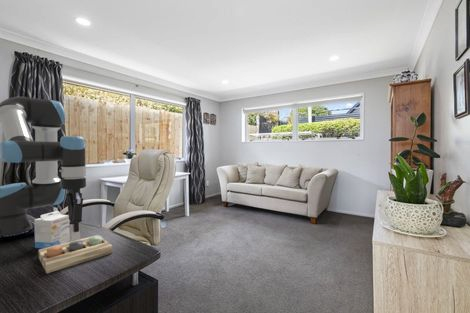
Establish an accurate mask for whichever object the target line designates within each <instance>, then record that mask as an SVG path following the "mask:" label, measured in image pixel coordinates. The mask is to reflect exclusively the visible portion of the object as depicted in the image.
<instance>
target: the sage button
mask: <svg viewBox="0 0 470 313" xmlns="http://www.w3.org/2000/svg"><path fill="white" fill-rule="evenodd" d="M92 236H93V237H91V236H90V237H91V238H89V246H90V247H91V246H94V245H98V244H101V243H102V238H103V237H102V235H99V236H95V235H92Z"/></svg>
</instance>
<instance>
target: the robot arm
mask: <svg viewBox="0 0 470 313" xmlns="http://www.w3.org/2000/svg"><path fill="white" fill-rule="evenodd" d="M65 112H66V111H65V109H64V105H62V103H61V102H60V101H59V100H58V101H57V100H51V99H43V98H35V97H28V96H14V97H10V98H6V99H4V100H2V101H0V124H1V127H2V131H3V135H4V141H1V142H0V160H1V161H2V162H3V163H15V164H18V163H33V162H35V178H34V179H32V180H31V184H28V185H27V183H26V182H18V183H17V182H16V183H9V184H5V185H1V186H0V238H1V236H3V235H12V234H18V233H22V232H26V231H29V230H30V229H32V228H33V223H32V221H31V220H30V218H29V215H28V210H30V209H32V210H33V209H37V208H44V207H51V206H55V205H60V204H61V203H62V202H63V201H64V198H65V196H66V199H67V200H66V201H67V202H66V203H67V212H68V213H67V215H69V227H70V242H72V241H76V240H80V239H81V223H82V222H83V220H82V218H83V202H84V198H83V194H82V192H81V189H84V188H86V187H87V178H86V176H87V167H86V141H85V138H84V137H83V136H77V135H76V136H74V135H69V136H68V135H67V136H66V135H65V136H61V137H60V141H58V131H59V130H61V128H62V125H65V123H66V113H65ZM28 123H30V127H31V128H32V129H34V133H35V134H34V135H35V136H34V138H35V141H34V138H33V136H32V134H31V131H30V128H29V126H28ZM59 161H60V168H61V169H59V170H58V162H59ZM58 171H59V173H61V178H62V179H61V178H60V177H59V176H58ZM66 191H68V193H66Z"/></svg>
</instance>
